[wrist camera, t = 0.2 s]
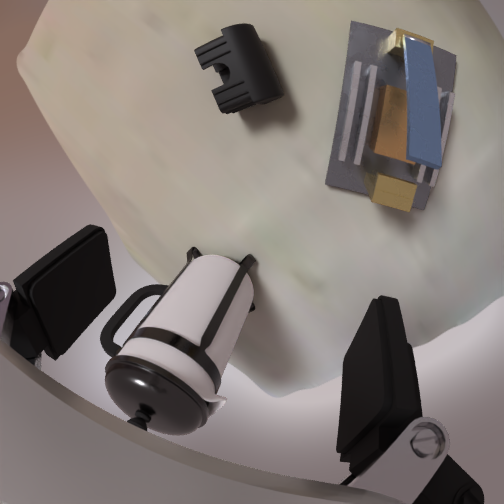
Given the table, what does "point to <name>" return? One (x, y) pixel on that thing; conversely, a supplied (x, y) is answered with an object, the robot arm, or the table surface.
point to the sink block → (383, 120)
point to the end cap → (240, 69)
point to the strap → (422, 104)
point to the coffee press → (179, 345)
